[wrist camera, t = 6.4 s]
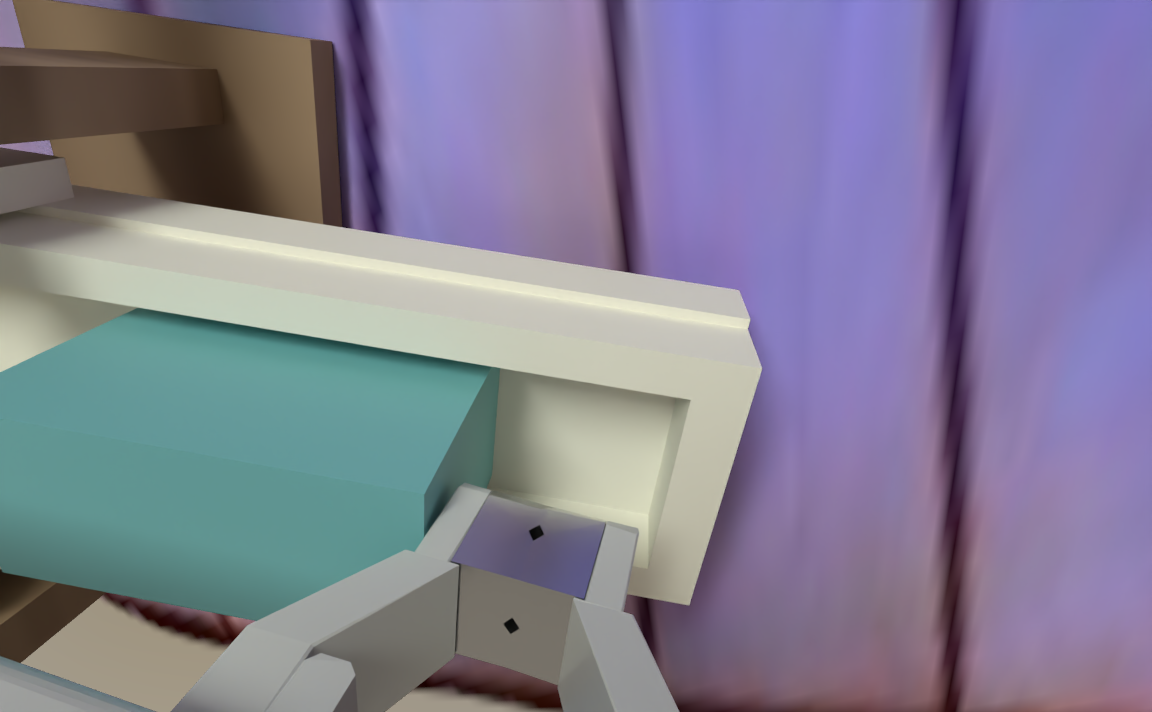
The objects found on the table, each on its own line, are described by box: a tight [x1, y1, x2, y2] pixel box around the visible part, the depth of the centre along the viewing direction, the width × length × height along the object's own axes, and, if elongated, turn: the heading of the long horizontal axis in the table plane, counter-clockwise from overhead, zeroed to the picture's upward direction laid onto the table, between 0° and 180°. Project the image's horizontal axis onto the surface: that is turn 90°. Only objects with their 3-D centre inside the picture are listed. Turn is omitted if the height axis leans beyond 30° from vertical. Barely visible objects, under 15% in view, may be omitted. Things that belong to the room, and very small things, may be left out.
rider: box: [0, 308, 500, 621], centre depth 11 cm, size 7×3×4 cm, turn 83°
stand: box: [0, 0, 342, 663], centre depth 13 cm, size 8×13×10 cm, turn 173°
